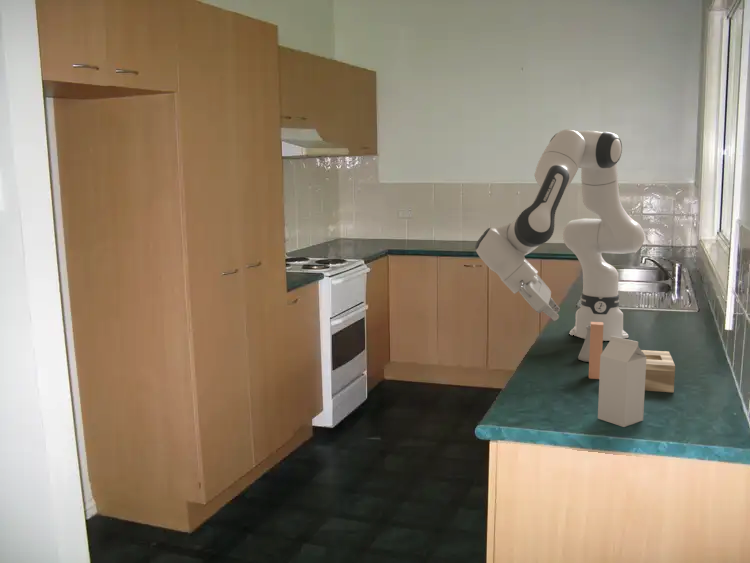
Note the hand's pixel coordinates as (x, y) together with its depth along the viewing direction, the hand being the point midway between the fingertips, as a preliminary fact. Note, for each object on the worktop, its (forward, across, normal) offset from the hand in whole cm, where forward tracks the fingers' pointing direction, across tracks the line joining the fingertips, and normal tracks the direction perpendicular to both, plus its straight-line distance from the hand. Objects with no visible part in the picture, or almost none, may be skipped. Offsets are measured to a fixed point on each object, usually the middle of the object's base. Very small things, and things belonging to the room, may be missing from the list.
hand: (557, 315), depth 200 cm
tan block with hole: (+29, -2, -5) cm, 29 cm away
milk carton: (+23, -33, +1) cm, 40 cm away
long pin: (+19, 0, +4) cm, 20 cm away
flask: (+18, +18, +6) cm, 26 cm away
